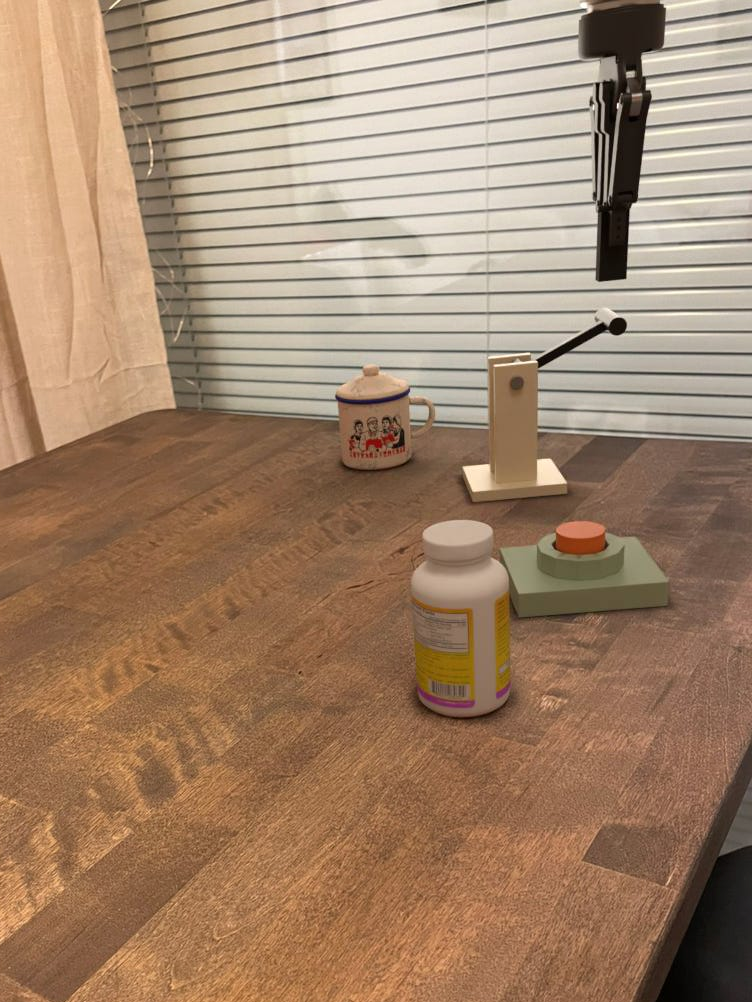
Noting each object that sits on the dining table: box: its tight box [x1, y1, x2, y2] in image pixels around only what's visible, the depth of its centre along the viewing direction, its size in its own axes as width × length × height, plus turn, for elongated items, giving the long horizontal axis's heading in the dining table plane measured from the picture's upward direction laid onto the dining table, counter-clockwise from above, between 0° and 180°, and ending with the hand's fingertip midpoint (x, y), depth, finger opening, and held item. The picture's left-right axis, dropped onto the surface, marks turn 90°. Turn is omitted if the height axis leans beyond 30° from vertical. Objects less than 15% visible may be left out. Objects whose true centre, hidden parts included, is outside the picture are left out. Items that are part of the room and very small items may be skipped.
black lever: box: [510, 307, 628, 370], centre depth 105 cm, size 13×6×2 cm, turn 87°
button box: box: [499, 531, 670, 619], centre depth 86 cm, size 12×10×4 cm
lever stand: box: [462, 352, 568, 503], centre depth 109 cm, size 10×9×14 cm
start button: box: [555, 520, 607, 555], centre depth 85 cm, size 4×4×2 cm
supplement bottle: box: [410, 519, 511, 718], centre depth 70 cm, size 7×7×13 cm
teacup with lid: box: [334, 364, 436, 471], centre depth 123 cm, size 12×9×12 cm
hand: (610, 279), depth 101 cm, fingers closed
